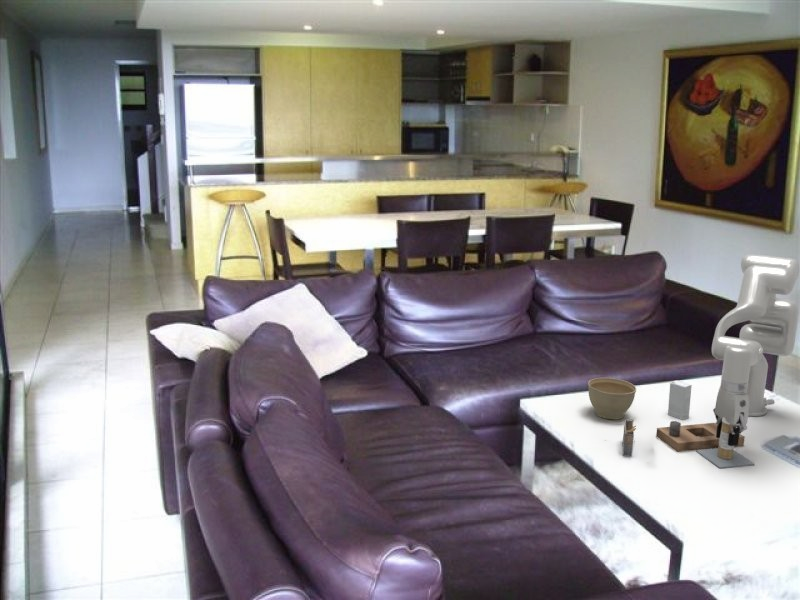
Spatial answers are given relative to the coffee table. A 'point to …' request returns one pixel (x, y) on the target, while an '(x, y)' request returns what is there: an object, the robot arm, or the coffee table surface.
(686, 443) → the wooden peg board
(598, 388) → the planter bowl
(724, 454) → the sprinkles bottle
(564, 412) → the coffee table surface
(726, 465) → the pad
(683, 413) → the skincare box
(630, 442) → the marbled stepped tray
